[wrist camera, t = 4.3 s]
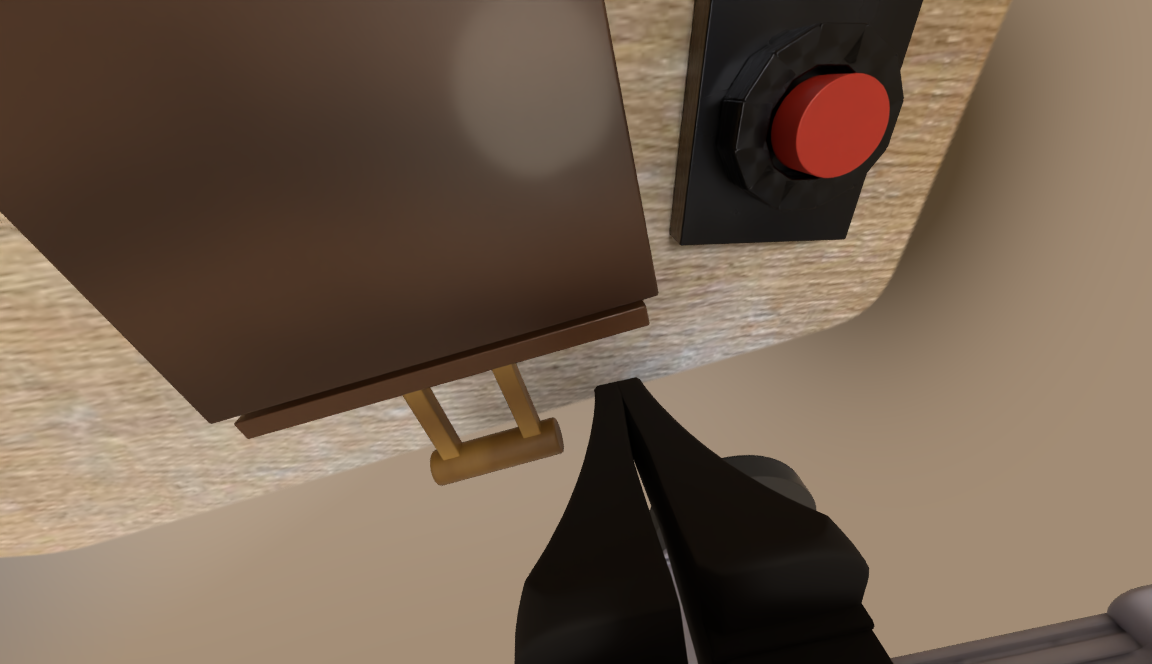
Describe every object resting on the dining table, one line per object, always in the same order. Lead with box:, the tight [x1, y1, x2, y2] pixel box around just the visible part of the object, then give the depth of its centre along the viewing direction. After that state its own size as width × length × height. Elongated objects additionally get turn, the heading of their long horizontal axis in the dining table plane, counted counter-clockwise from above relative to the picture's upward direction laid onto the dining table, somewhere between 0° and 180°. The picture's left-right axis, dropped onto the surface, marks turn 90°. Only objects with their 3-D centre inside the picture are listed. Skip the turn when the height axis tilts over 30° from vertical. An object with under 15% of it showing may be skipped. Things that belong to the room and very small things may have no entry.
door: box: [234, 300, 649, 486], centre depth 18 cm, size 6×13×8 cm, turn 105°
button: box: [771, 73, 890, 178], centre depth 15 cm, size 3×3×2 cm
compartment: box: [0, 0, 658, 424], centre depth 13 cm, size 11×14×9 cm
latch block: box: [670, 0, 923, 245], centre depth 17 cm, size 10×8×4 cm
